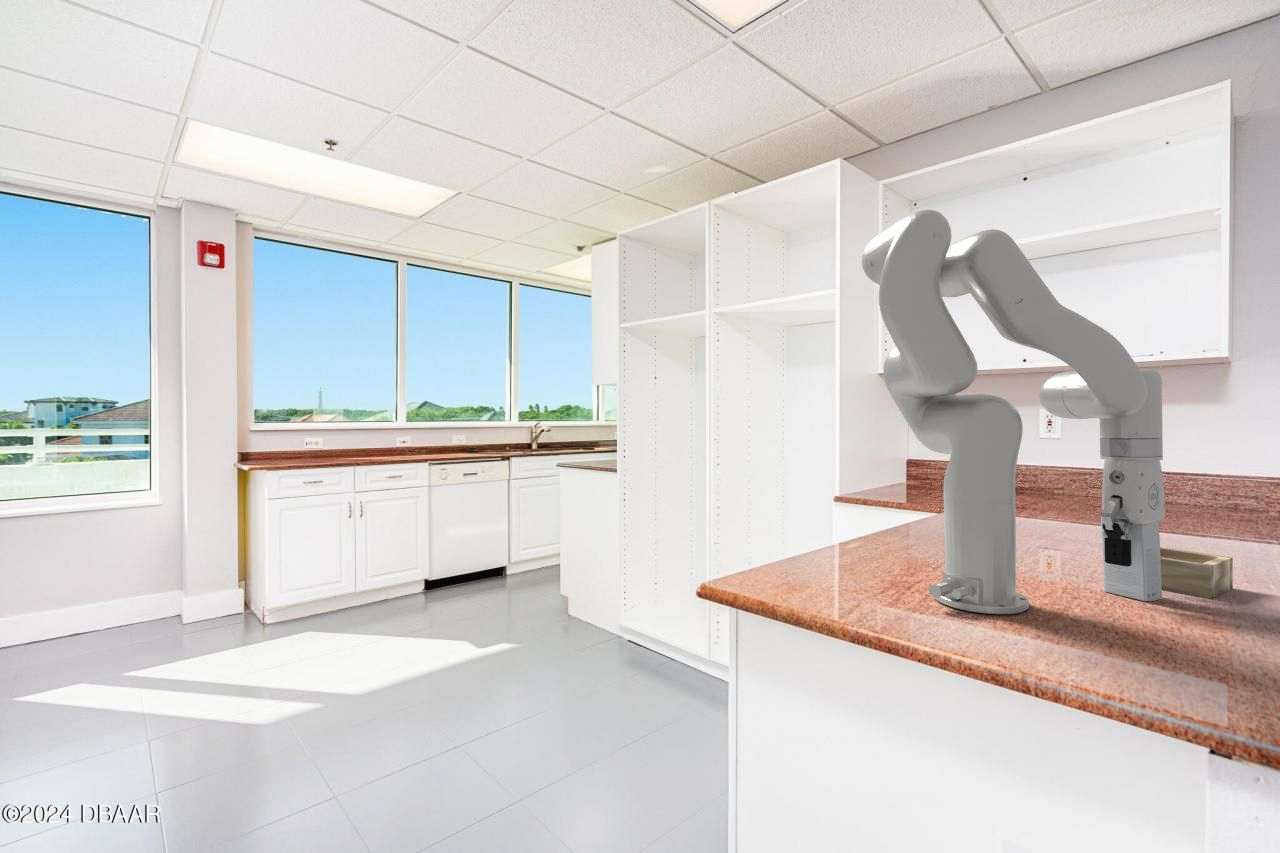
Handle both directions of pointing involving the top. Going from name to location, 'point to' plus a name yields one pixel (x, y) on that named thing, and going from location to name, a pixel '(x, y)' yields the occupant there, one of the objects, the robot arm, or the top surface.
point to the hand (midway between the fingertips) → (1132, 559)
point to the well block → (1195, 573)
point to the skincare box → (1137, 566)
